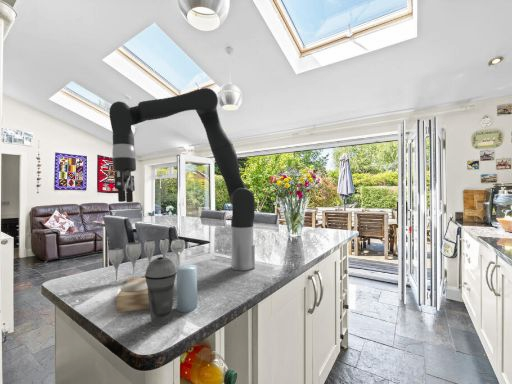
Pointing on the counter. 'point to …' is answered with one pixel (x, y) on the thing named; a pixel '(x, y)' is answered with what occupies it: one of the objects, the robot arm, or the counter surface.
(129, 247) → the goblet set
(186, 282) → the pale blue domed cylinder
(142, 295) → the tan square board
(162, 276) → the beverage cup
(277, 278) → the counter surface
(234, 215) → the robot arm
